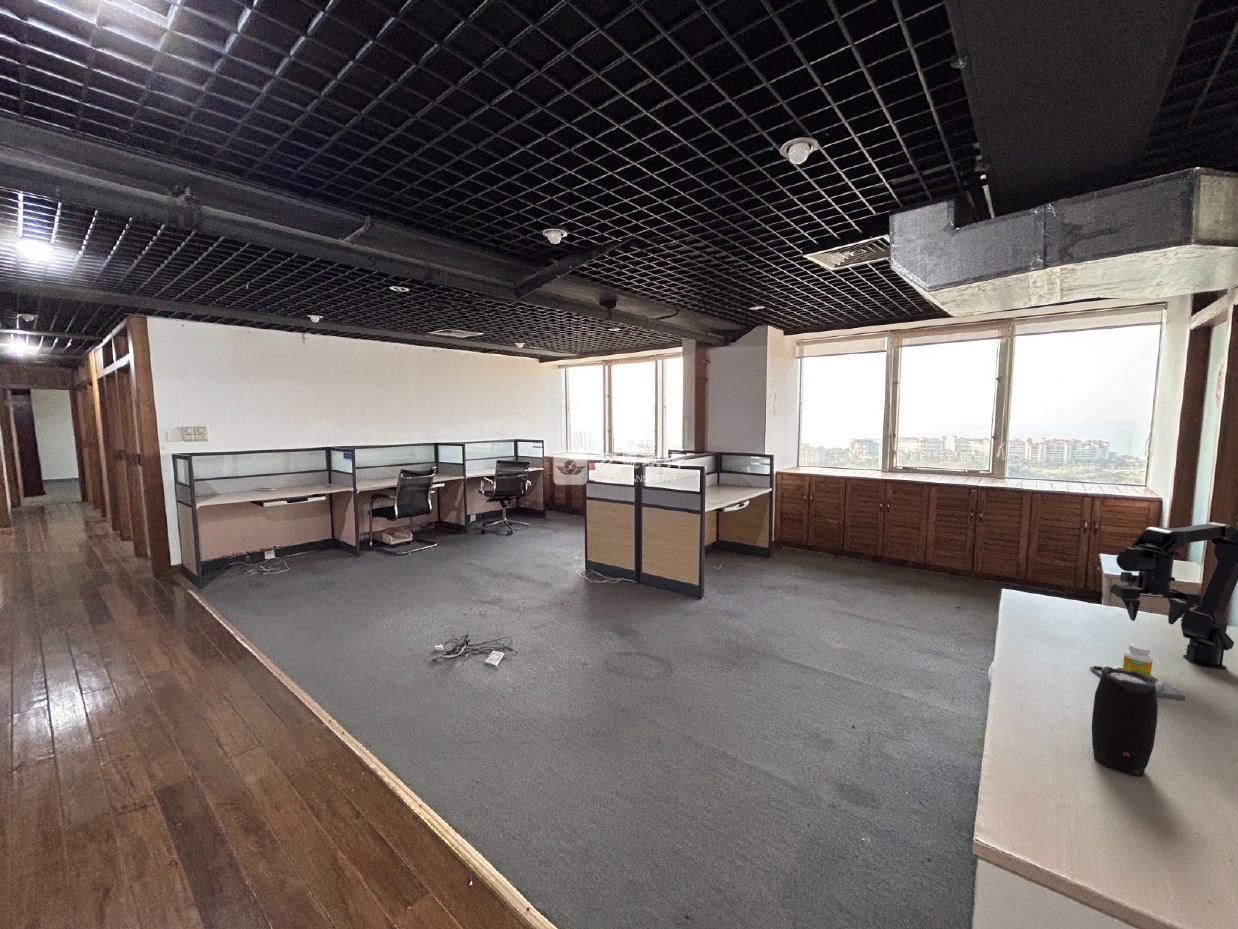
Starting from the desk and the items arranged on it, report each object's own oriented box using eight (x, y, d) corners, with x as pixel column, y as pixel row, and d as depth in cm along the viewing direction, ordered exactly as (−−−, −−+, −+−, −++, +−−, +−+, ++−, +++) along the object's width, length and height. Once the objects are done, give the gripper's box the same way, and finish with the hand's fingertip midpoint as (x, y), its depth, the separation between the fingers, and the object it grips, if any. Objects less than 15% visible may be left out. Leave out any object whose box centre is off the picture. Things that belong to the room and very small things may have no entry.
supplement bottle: (1126, 682, 137) (1130, 648, 136) (1118, 673, 142) (1122, 640, 141) (1153, 687, 134) (1157, 652, 133) (1144, 678, 139) (1148, 644, 138)
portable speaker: (1143, 785, 99) (1154, 691, 97) (1081, 758, 107) (1091, 670, 105) (1155, 769, 104) (1166, 679, 102) (1095, 744, 112) (1104, 660, 110)
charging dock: (1149, 676, 142) (1150, 668, 142) (1184, 699, 130) (1186, 690, 130) (1090, 669, 146) (1091, 661, 145) (1119, 691, 134) (1120, 682, 134)
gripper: (1174, 565, 152) (1168, 615, 154) (1100, 560, 157) (1095, 608, 158) (1206, 577, 142) (1199, 630, 143) (1126, 571, 146) (1120, 622, 148)
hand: (1151, 622), depth 148 cm, fingers open, 9 cm apart
